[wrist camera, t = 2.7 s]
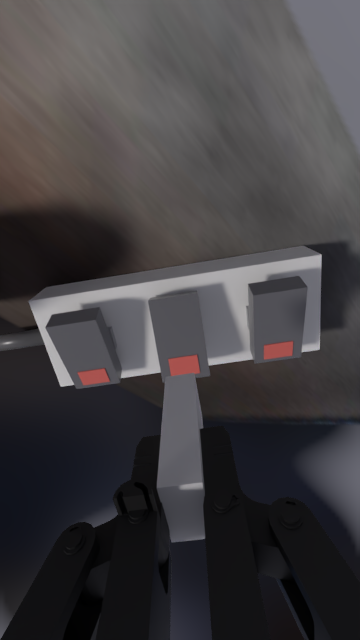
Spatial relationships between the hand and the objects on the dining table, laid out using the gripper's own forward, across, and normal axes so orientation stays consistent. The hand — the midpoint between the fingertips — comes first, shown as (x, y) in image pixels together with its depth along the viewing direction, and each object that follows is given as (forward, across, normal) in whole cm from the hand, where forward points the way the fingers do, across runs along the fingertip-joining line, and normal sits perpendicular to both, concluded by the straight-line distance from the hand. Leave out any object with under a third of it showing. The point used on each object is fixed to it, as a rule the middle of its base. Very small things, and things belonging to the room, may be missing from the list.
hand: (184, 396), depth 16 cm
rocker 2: (+10, 0, -1) cm, 10 cm away
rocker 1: (+10, -8, -1) cm, 13 cm away
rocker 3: (+10, +8, -1) cm, 13 cm away
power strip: (+16, -5, -1) cm, 17 cm away
